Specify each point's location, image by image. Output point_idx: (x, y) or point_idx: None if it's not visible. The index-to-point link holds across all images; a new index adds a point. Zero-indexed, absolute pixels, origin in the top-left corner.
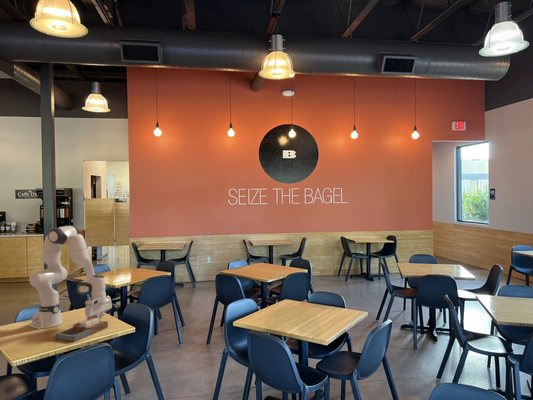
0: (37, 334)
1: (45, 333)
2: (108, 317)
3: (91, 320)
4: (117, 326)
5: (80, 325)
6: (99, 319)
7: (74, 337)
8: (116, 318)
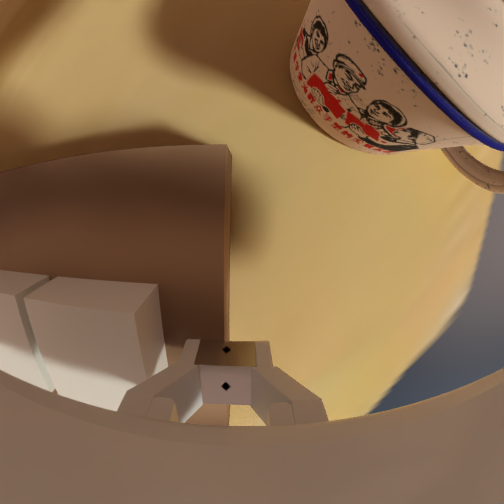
0: (6, 5)
1: (11, 17)
2: None
3: (49, 373)
4: None
5: (2, 237)
6: (401, 152)
7: None
8: (472, 276)
